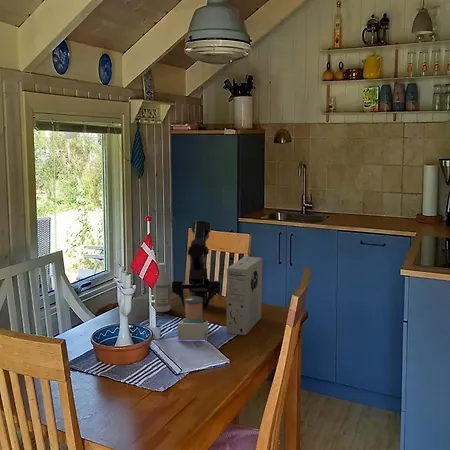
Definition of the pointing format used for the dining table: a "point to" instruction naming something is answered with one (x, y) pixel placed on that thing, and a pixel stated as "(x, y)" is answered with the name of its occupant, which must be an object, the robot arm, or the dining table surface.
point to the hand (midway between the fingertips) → (195, 306)
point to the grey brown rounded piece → (193, 308)
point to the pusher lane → (192, 331)
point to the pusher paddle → (193, 321)
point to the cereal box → (244, 295)
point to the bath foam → (162, 290)
